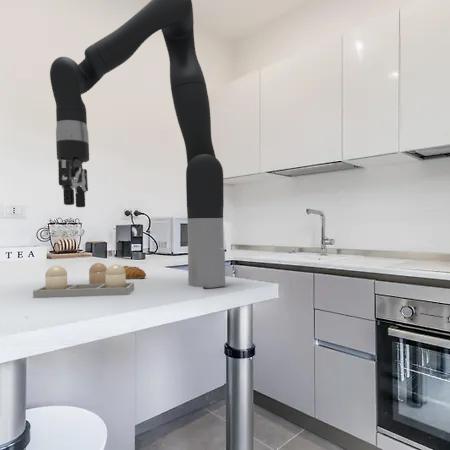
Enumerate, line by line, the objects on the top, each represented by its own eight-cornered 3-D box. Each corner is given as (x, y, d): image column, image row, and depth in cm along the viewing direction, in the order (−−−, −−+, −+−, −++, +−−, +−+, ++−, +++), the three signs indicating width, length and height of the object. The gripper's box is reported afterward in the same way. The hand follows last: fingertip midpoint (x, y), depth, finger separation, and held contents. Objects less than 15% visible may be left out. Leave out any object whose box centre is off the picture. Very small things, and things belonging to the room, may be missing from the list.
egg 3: (127, 290, 81) (127, 262, 81) (123, 293, 77) (123, 264, 77) (108, 290, 81) (107, 263, 81) (103, 294, 76) (103, 265, 76)
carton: (134, 291, 82) (134, 282, 82) (128, 296, 75) (128, 287, 75) (47, 293, 81) (46, 285, 81) (33, 300, 74) (33, 290, 74)
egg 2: (109, 286, 90) (109, 261, 90) (105, 289, 86) (104, 263, 86) (92, 286, 90) (91, 262, 90) (87, 289, 86) (86, 264, 86)
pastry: (151, 278, 104) (151, 266, 104) (133, 282, 98) (133, 268, 98) (132, 276, 109) (131, 264, 109) (113, 279, 104) (113, 266, 104)
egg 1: (70, 292, 80) (69, 264, 80) (63, 295, 75) (62, 266, 75) (50, 292, 79) (50, 264, 79) (42, 296, 75) (41, 267, 75)
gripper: (78, 134, 80) (81, 203, 80) (95, 148, 94) (98, 207, 94) (45, 134, 79) (48, 204, 79) (67, 148, 94) (69, 208, 94)
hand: (75, 206), depth 87 cm, fingers open, 8 cm apart
